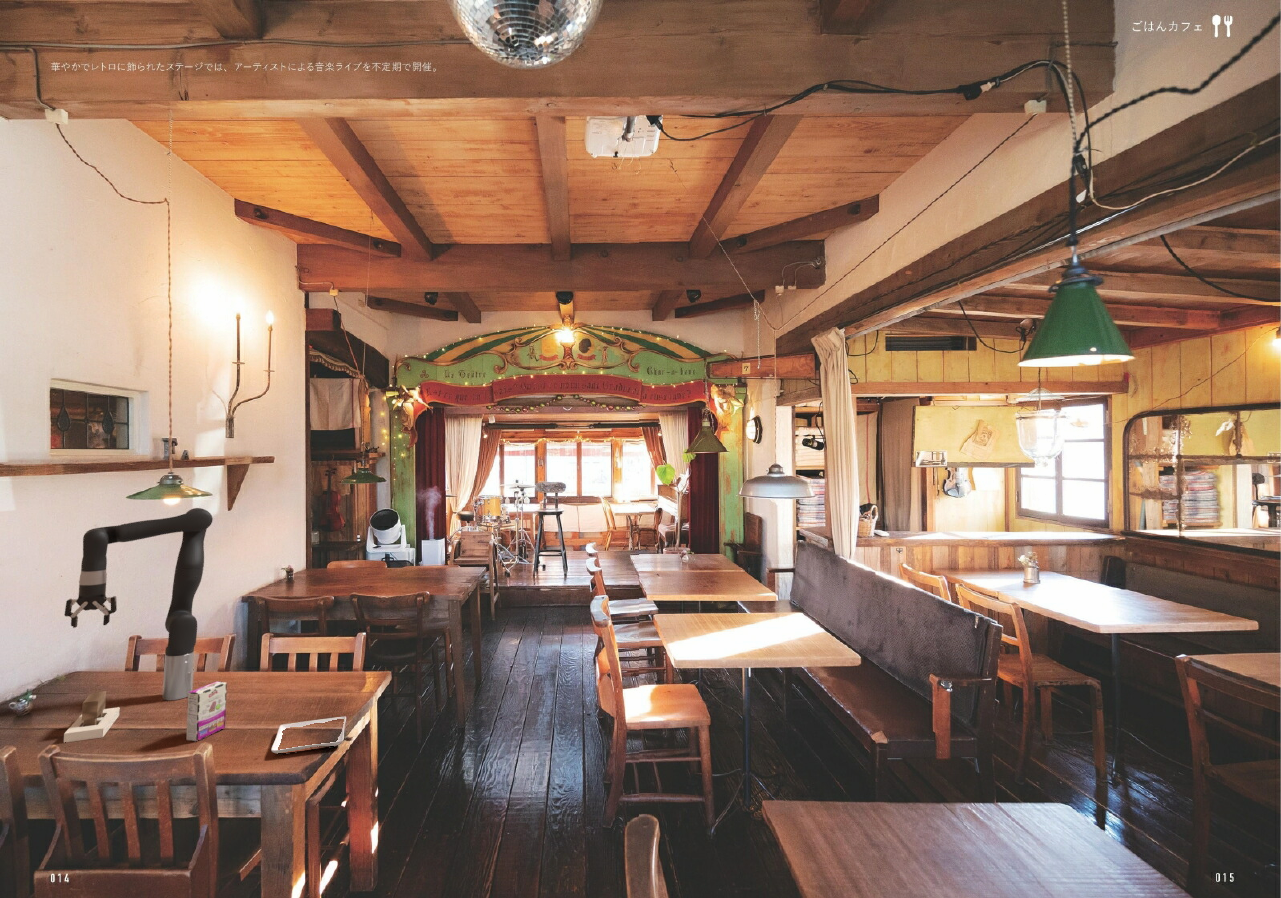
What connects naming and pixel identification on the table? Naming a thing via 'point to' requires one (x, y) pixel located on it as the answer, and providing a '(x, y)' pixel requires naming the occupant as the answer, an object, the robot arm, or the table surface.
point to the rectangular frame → (301, 724)
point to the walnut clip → (93, 708)
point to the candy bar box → (206, 710)
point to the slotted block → (91, 727)
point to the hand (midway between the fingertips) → (90, 626)
